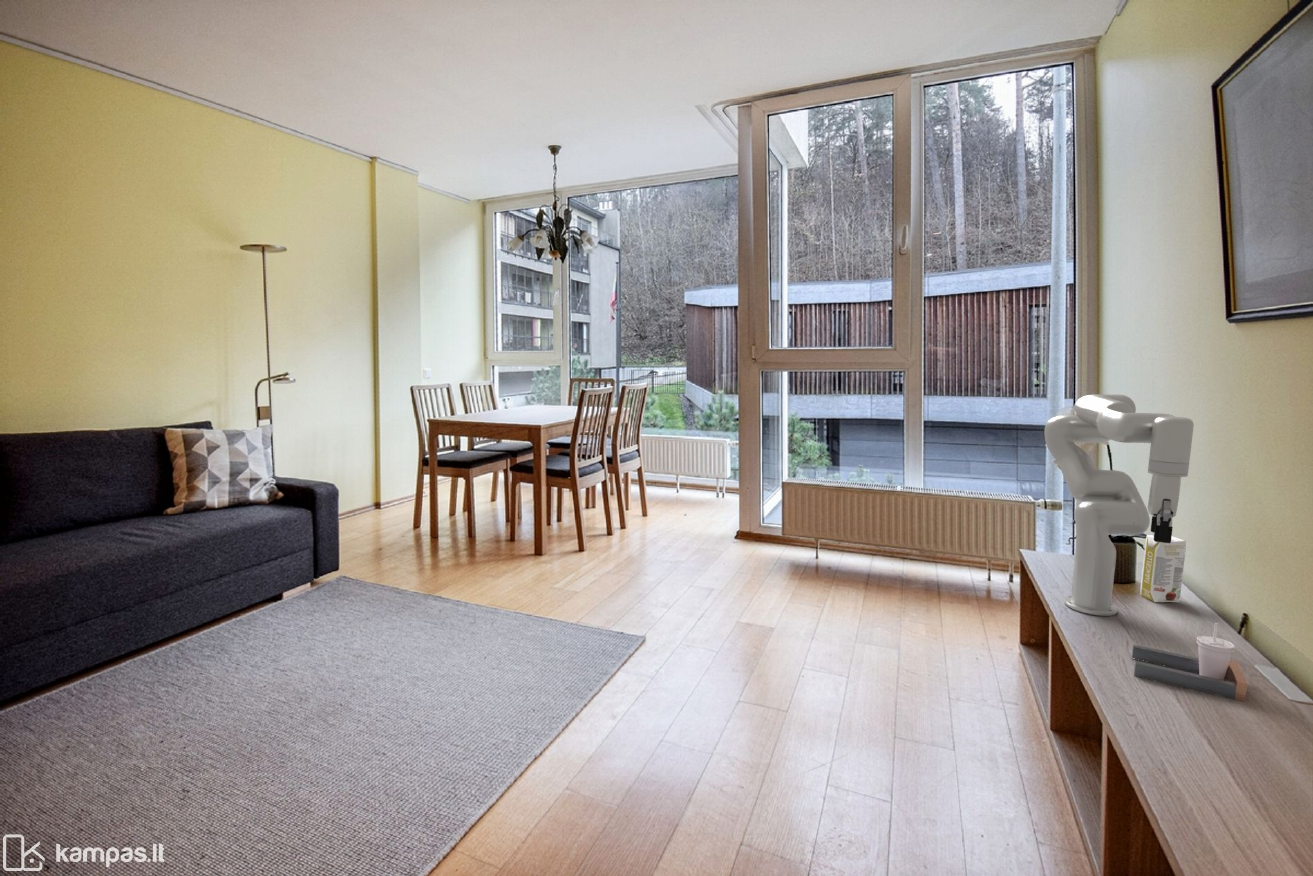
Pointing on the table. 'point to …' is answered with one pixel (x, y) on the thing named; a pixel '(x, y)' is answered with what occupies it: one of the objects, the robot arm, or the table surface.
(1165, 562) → the juice carton
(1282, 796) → the table surface
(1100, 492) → the robot arm
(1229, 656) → the smoothie
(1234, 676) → the grey frame
